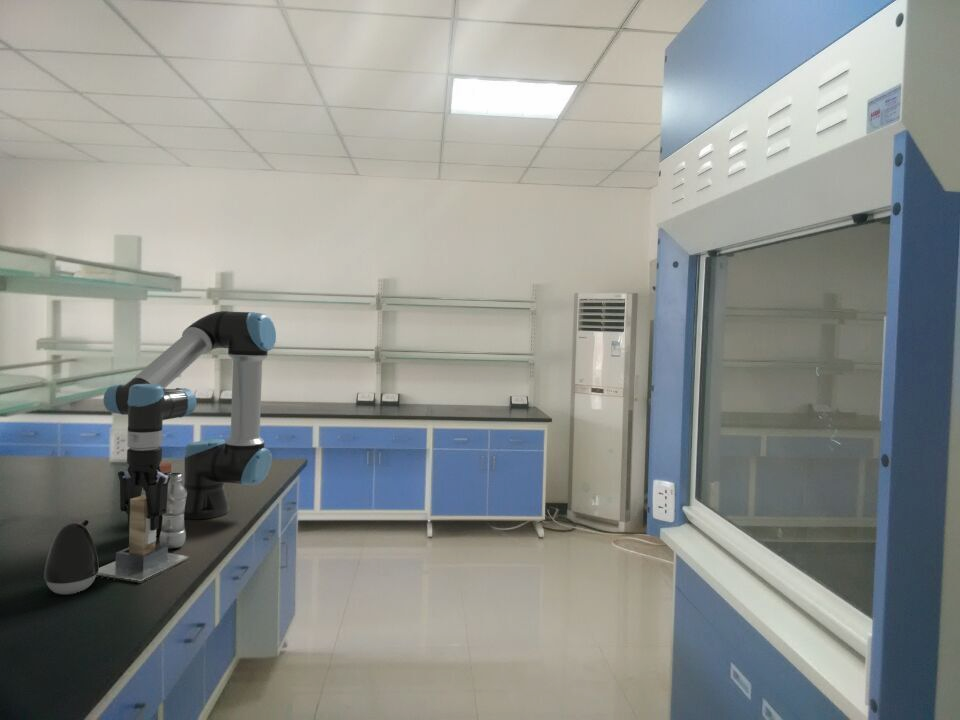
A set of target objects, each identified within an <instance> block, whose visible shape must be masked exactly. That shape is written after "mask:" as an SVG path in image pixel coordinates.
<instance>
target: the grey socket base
mask: <svg viewBox="0 0 960 720" xmlns="http://www.w3.org/2000/svg"><path fill="white" fill-rule="evenodd" d="M187 558H189V559H190V556H189V555H183V554H177V553H171V552H169V549H168V546H162V545H160V544H157V543H155V550H154V551H152V552H149V553H147V554H145V555H138V554H132V553H129V547H127V548H124V549H122V550H119V551H117V552H115V561H112V562H110V563H108V564H105V565H103V566H100V567H99V571H98V573H97V574H96V575H103V576H109V577H115V578H124V579H131V580H138V581H142V580H144V579H146V578H148V577H150V576H152V575H154V574H156V573H158V572H160V571H163V570H165V569H167V568H169V567H171V566H173V565H175V564H177V563H179V562H181V561H183V560H185V559H187Z"/></svg>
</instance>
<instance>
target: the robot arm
mask: <svg viewBox="0 0 960 720" xmlns="http://www.w3.org/2000/svg"><path fill="white" fill-rule="evenodd" d="M276 331H277V330H276V328H275V324H274V322H273V321H272V319H271V317H269V316H268V315H267V314H265V313H260V312H255V311H254V312H253V311H250V312H248V311H247V312H246V311H228V310H227V311H225V310H221V311H215V312H213V313H209V314H207V315H205V316H202V317H201V318H199V319H197V320H196V321H194V322H192V323H191V324H190V325H189V326H188V327H186V328H185V329H184V330H183V331H182V334H181V337H180V338H179V339H178V340H176V341H175V342H174V343H173V344H172V345H171V346H169V347H168V348H166V350H165V351H163V352H162V353H161V354H160V355H159V356H158V357H156V358H155V359H154V360H153V361H152V362H151V363H149V364H148V365H147V366H146V367H145V368H144V369H142V370H141V371H140V372H138V373H137V374H136V375H135V376H134V377H133V378H132V379H131V380H129V381H127V383H126V384H124V385H122V384H118V385H117V384H116V385H110V387H108V388H107V389H106V391H105V392H104V395H103V399H102V400H103V405H104V407H105V409H106V411H108V412H110V413H112V414H118V415H122V416H123V415H125V416H127V447H128V448H127V450H126V463H127V464H128V467H127V469H125V470H121V471H118V472H117V476H118V480H119V497H120V498H119V502H120V503H119V506H120V507H119V508H120V511H121V512H125V513H126V515H127V527H128V528H129V529H128V531H129V532H128V533H129V535H128V536H130V499H132V498H135V497H139V496H141V495H142V493H143V492H142V491H144V493H145V494H144V495H146V500H147V507H148V514H149V516H147V518H146V536H145V544H150V543H152V542H155V543H156V542H157V537H156V529H158V527H159V525H158V524H159V516H160V515H162V514H165V513H166V512H167V494H168V483H169V480H170V478H171V477H170V475H164V474H163V473H161V469H160V466H159V465H160V463H162V461H163V460H162V459H163V457H162V456H163V449H162V447H161V446H162V445H163V421H165V420H171V419H172V420H173V419H178V418H181V419H182V418H183V417H186V416H188V415H191V414H192V413H193V412H194V411H195V410H196V407H197V397H196V395H195V393H194V391H192V390H191V389H188V388H186V387H176V388H167V387H168V386H169V385H170V384H171V383H173V382H174V380H176V379H177V378H178V377H179V376H180V375H181V374H182V373H183V372H184V371H185V370H187V369H188V368H189V367H190V366H191V365H192V364H193V363H194V362H195V361H197V359H199V358H200V357H201V356H202V355H203V356H204V355H207V354H209V353H210V352H211V351H212V350H216V349H227V350H228V351H227V355H228V356H229V358H231V360H232V382H231V384H232V386H231V387H232V388H231V409H230V410H231V414H230V437H228V439H226V440H225V439H223V438H221V439H220V438H217V439H216V438H215V439H205V440H200V441H193V442H191V443H188V444H187V445H186V447H185V452H184V456H183V458H184V470H183V471H184V472H183V474H184V475H183V477H184V480H183V481H184V483H183V486H184V487H185V489H186V491H187V498H186V503H185V511H184V519H189V520H205V519H212V518H218V517H221V516H222V517H223V516H225V515H226V514H228V513H229V511H230V503H229V501H228V498H227V493H226V490H225V486H224V484H225V483H226V484H234V485H235V484H236V485H242V486H247V485H248V486H257V485H259V484H261V483H262V482H263V481H264V480H265V479H266V477H267V476H268V474H269V472H270V469H271V466H272V461H273V457H272V453H271V451H270V449H268V448H266V447H265V440H264V439H263V438H262V437H261V436H260V435H261V412H262V411H261V409H262V408H261V406H262V405H261V404H262V376H263V375H262V373H263V361H264V360H265V359H266V358H267V357H268V352H269V351H271V350H273V348H274V347H275V344H276V342H277V341H276V339H277V333H276ZM157 478H158V480H157ZM157 482H158V483H157ZM149 485H151V486H149Z"/></svg>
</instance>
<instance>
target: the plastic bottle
mask: <svg viewBox="0 0 960 720" xmlns="http://www.w3.org/2000/svg"><path fill="white" fill-rule="evenodd" d="M167 475H170V477H171V478H170V480H169V483H168V494H167V512H166V513H165V514H163V515H162V516H163V519H162V528H161V533H160V536H159V545H162V546H168V550H169V549H170V550H171V549H178V548H180V547H182V546H183V545H184V544H185V543H186V540H187V539H186V538H187V532H186V527H185V518H184V511H185V503H186V498H187V491H186V489H185V487H184V483H182V481H183V474H182V473H181V472H171V473H169V474H167Z"/></svg>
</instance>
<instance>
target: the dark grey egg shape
mask: <svg viewBox="0 0 960 720" xmlns="http://www.w3.org/2000/svg"><path fill="white" fill-rule="evenodd" d="M89 523H90V522H89V520H88V519H84V520H83V521H82V522H81V523H80V522H69V523H67V524H64V526H62V527H61V528H60V529H59V530H58V532H57V533H56V535H55V537H54V539H53V541H52V542H51V545H50V549H49V552H48V553H47V554H48V555H47V557H46V561H45V566H44V573H43V580H45V582H46V585H47V586H48V588H49V590H51V591H52V592H53V593H55V594H59V595H74V594H78V593H80V591H81V592H82V591H85V590H86V589H89V587H90V586H91V585H92V584H93V583H94V581H95V579H96V577H97V576H96V574H97V573H98V571H99V568H100V567H99V565H100V564H99V558H98V554H97V553H98V552H97V548H96V545H95V542H94V540H93V537H92V535H91V533H90V531H89V530H88V528H87V526H88V524H89ZM77 592H78V593H77Z"/></svg>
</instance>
